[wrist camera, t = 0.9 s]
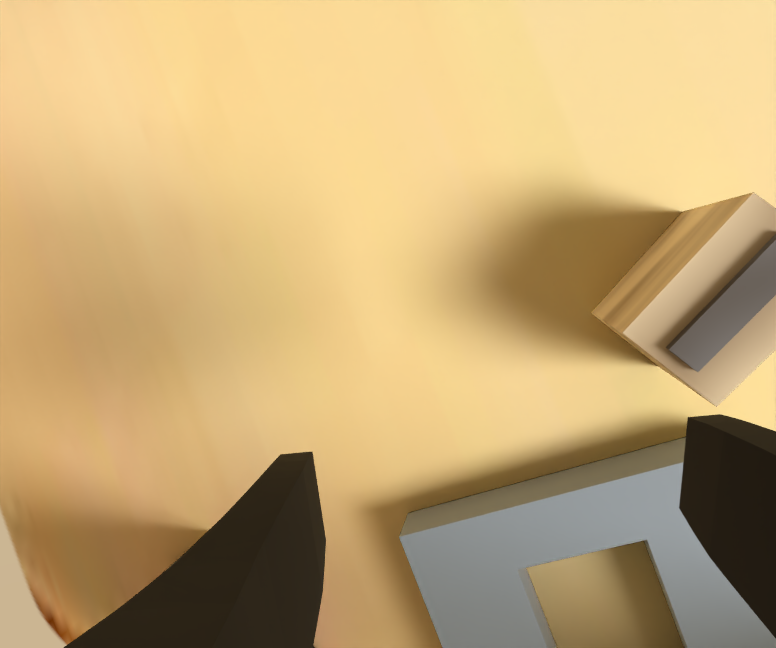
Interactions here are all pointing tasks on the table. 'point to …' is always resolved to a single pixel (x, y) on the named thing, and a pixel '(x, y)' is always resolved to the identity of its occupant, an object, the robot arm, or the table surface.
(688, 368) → the keyed plug
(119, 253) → the table surface
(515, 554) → the socket plate
